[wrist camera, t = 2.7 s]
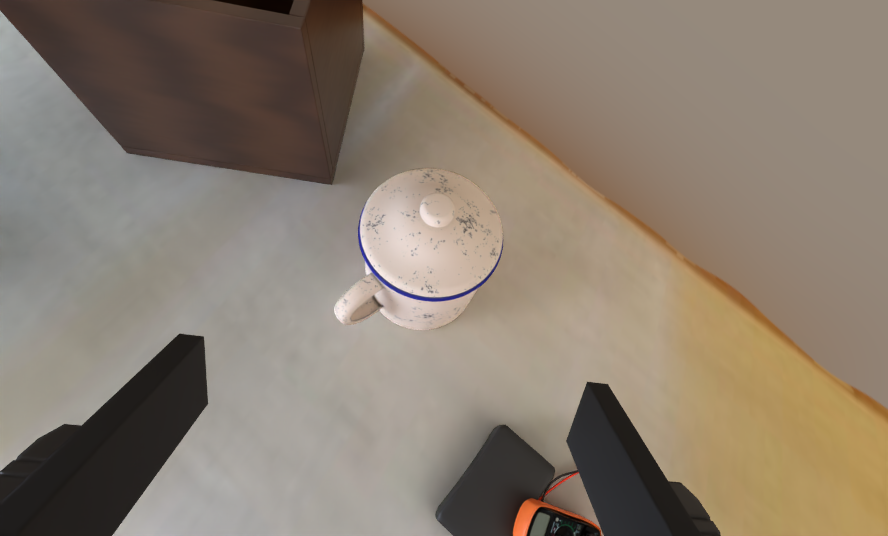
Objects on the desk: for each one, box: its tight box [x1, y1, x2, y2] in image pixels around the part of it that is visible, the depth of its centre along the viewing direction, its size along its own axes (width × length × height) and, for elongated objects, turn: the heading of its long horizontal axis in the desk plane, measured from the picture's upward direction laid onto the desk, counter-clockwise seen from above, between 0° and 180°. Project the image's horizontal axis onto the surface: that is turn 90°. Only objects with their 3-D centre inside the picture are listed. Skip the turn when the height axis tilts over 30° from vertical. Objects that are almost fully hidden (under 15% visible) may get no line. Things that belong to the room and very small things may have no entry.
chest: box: [0, 0, 364, 185], centre depth 31 cm, size 17×17×15 cm
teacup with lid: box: [334, 168, 503, 330], centre depth 28 cm, size 12×9×12 cm
